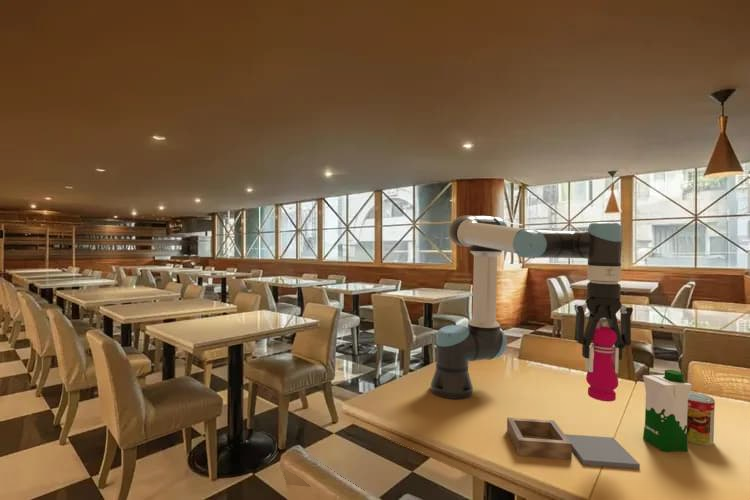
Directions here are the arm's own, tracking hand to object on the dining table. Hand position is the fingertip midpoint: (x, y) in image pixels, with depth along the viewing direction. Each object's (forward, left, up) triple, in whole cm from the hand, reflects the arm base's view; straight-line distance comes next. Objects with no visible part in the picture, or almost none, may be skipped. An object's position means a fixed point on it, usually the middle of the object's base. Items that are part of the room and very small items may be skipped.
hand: (601, 370), depth 101 cm
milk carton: (+20, +7, -22) cm, 30 cm away
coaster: (0, 0, -22) cm, 22 cm away
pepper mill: (0, 0, -7) cm, 7 cm away
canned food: (+31, +12, -22) cm, 40 cm away
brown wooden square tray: (-15, +2, -22) cm, 26 cm away
